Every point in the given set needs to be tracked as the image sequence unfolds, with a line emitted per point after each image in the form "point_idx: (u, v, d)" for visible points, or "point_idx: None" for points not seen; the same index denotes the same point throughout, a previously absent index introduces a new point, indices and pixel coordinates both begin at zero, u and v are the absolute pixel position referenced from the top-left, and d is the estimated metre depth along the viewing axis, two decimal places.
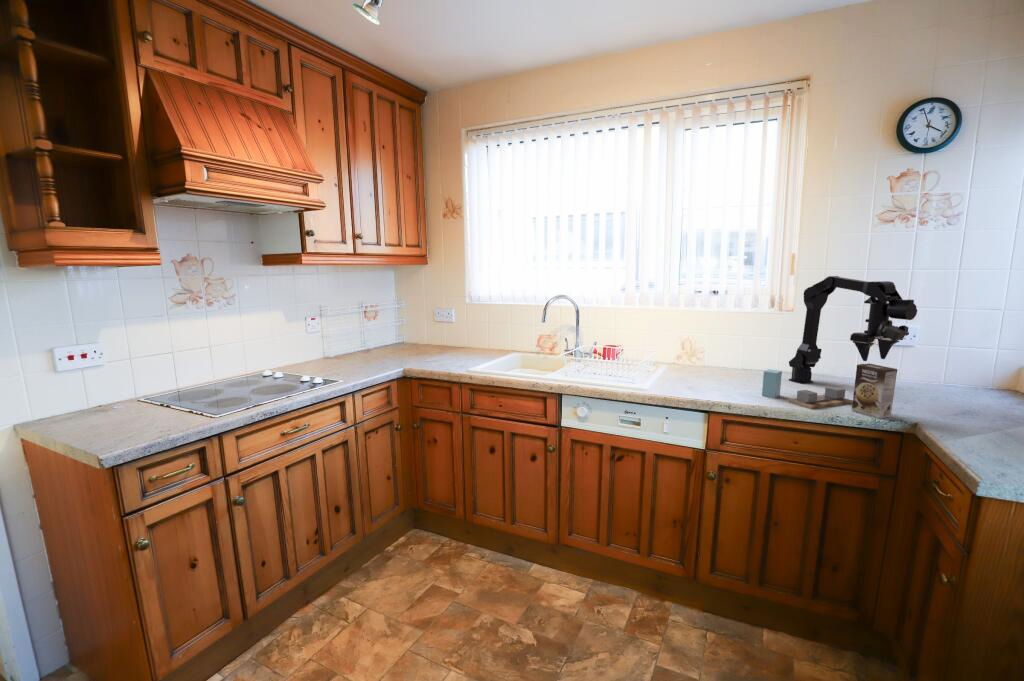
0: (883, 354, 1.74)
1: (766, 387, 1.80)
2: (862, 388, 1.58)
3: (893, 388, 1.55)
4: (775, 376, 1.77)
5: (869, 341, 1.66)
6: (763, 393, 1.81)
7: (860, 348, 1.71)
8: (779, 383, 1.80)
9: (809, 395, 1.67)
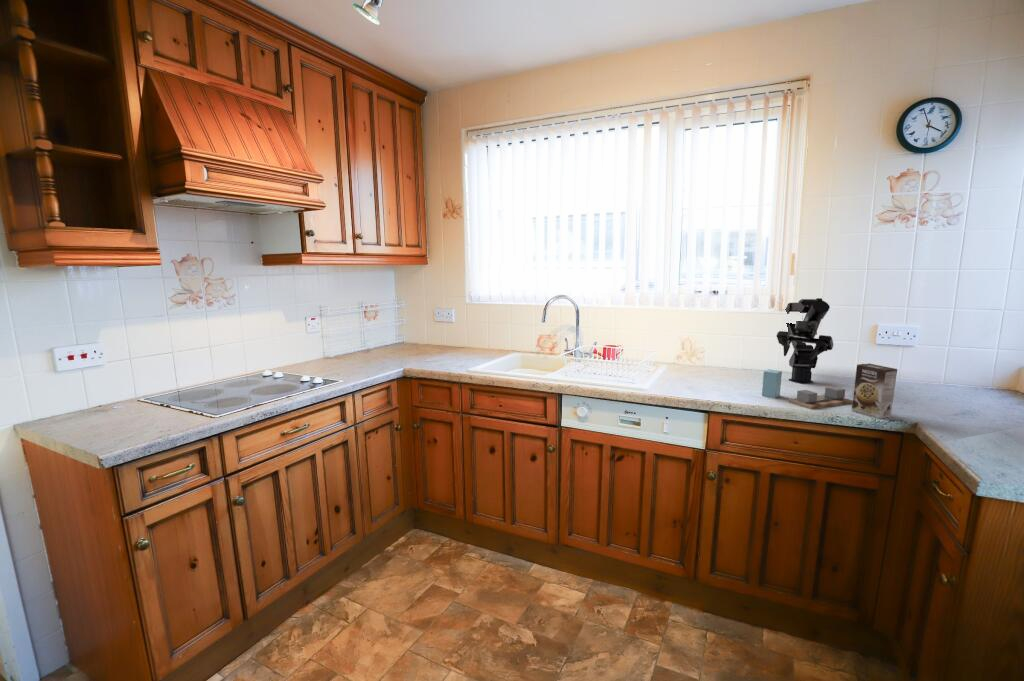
0: None
1: (766, 387, 1.80)
2: (862, 388, 1.58)
3: (893, 388, 1.55)
4: (775, 376, 1.77)
5: (780, 334, 1.91)
6: (763, 393, 1.81)
7: None
8: (779, 383, 1.80)
9: (809, 395, 1.67)
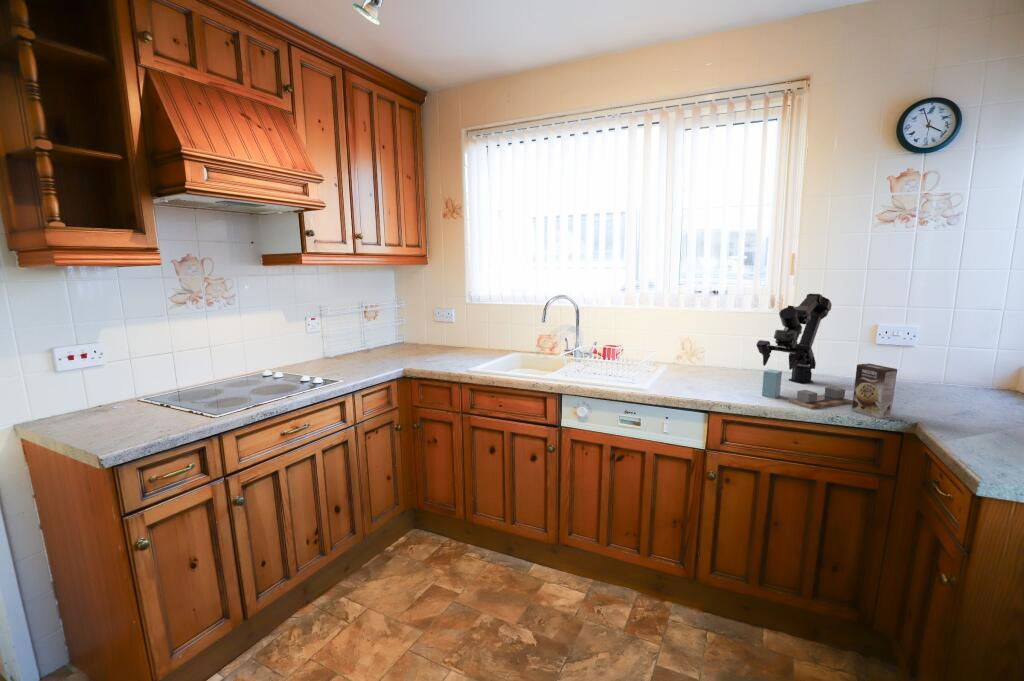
0: None
1: (766, 387, 1.80)
2: (862, 388, 1.58)
3: (893, 388, 1.55)
4: (775, 376, 1.77)
5: (760, 343, 1.89)
6: (763, 393, 1.81)
7: None
8: (779, 383, 1.80)
9: (809, 395, 1.67)
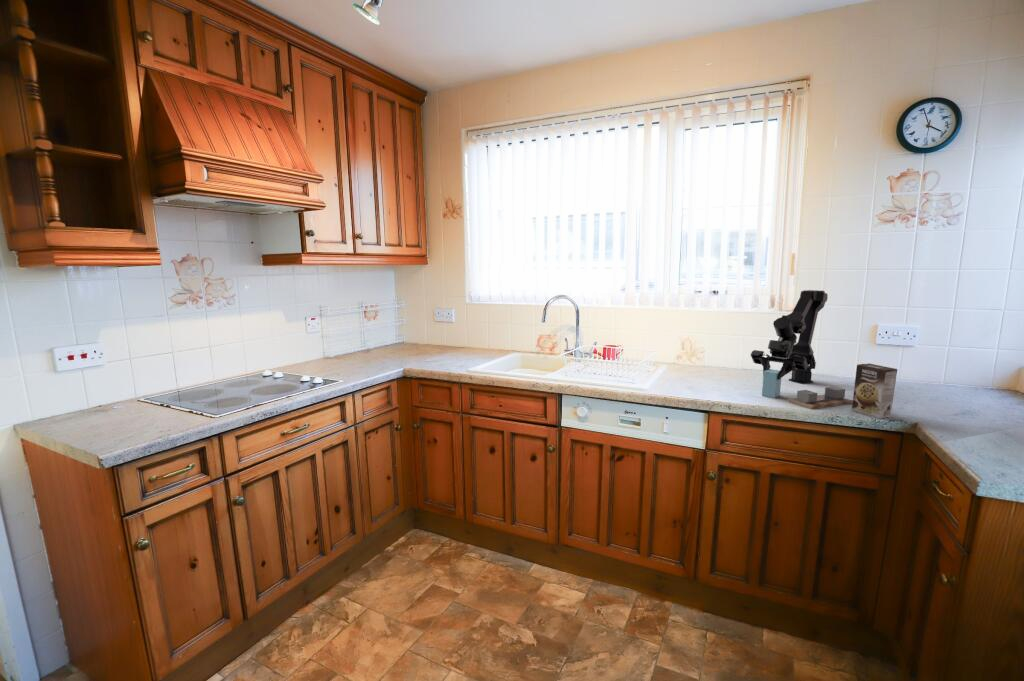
0: None
1: (766, 387, 1.80)
2: (862, 388, 1.58)
3: (893, 388, 1.55)
4: (775, 376, 1.77)
5: (754, 353, 1.86)
6: (763, 393, 1.81)
7: None
8: (779, 383, 1.80)
9: (809, 395, 1.67)
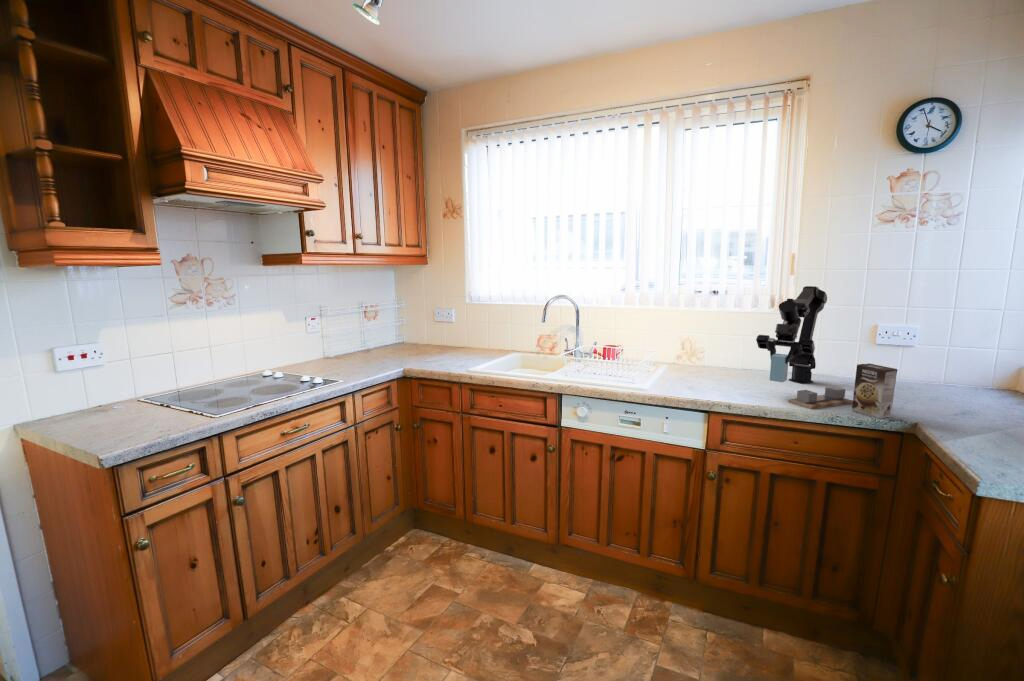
0: None
1: (774, 372, 1.77)
2: (862, 388, 1.58)
3: (893, 388, 1.55)
4: (783, 360, 1.74)
5: (760, 338, 1.83)
6: (771, 378, 1.78)
7: None
8: (786, 367, 1.77)
9: (809, 395, 1.67)
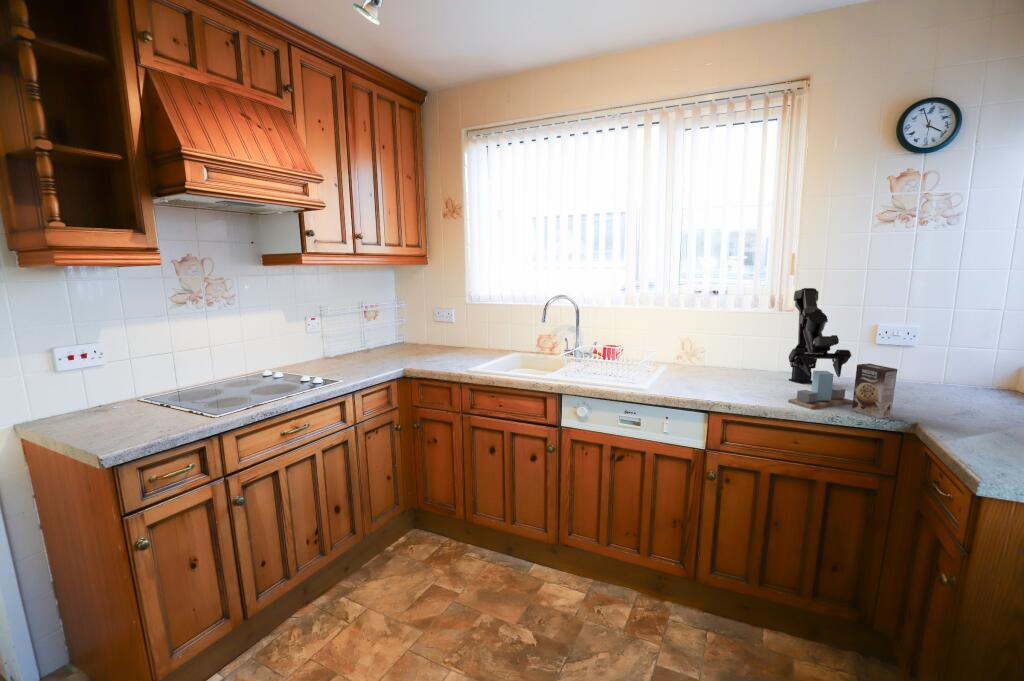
0: (837, 372, 1.69)
1: (822, 390, 1.69)
2: (862, 388, 1.58)
3: (893, 388, 1.55)
4: (832, 377, 1.68)
5: (798, 352, 1.73)
6: (818, 397, 1.70)
7: (802, 366, 1.74)
8: None
9: (809, 395, 1.67)
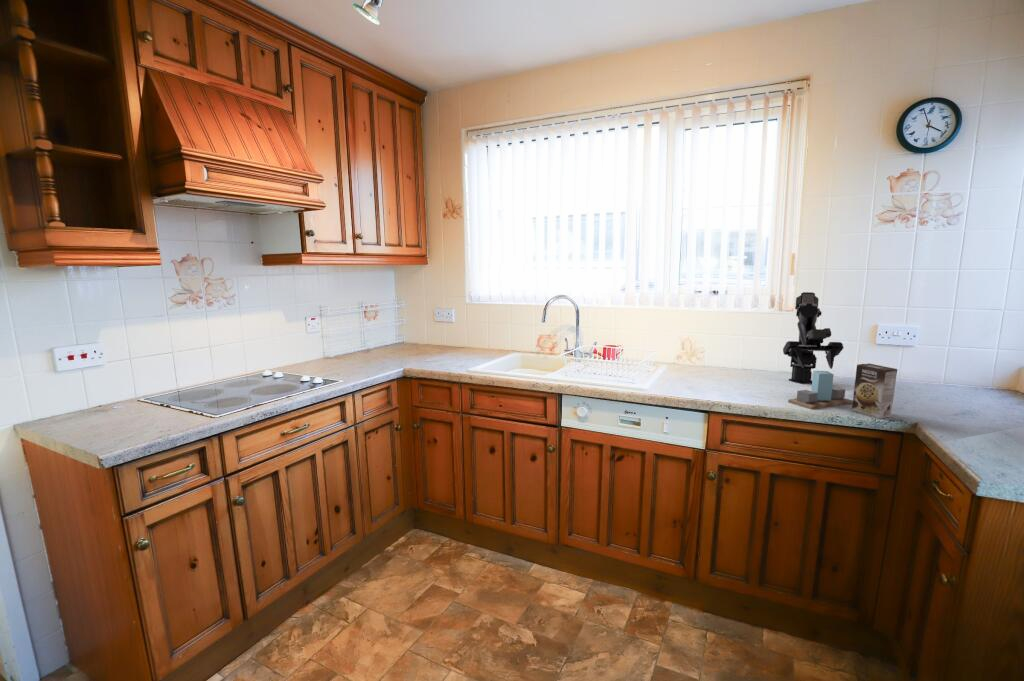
0: (830, 363, 1.75)
1: (822, 390, 1.69)
2: (862, 388, 1.58)
3: (893, 388, 1.55)
4: (832, 377, 1.68)
5: (792, 345, 1.79)
6: (818, 397, 1.70)
7: (796, 358, 1.80)
8: None
9: (809, 395, 1.67)
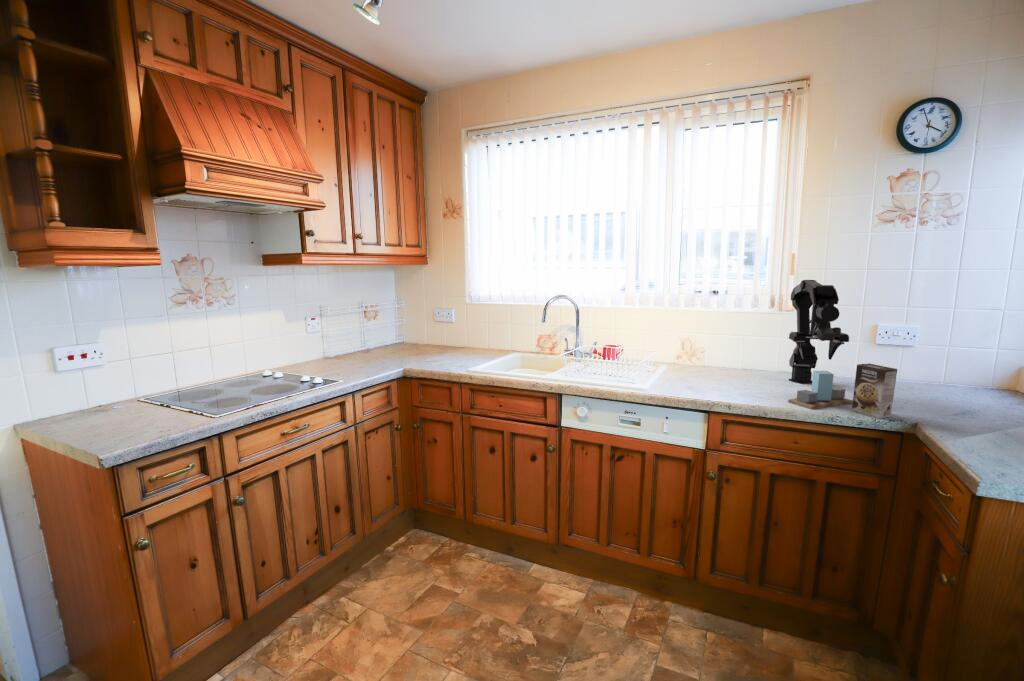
0: (829, 355, 1.82)
1: (822, 390, 1.69)
2: (862, 388, 1.58)
3: (893, 388, 1.55)
4: (832, 377, 1.68)
5: (798, 339, 1.81)
6: (818, 397, 1.70)
7: (799, 346, 1.85)
8: None
9: (809, 395, 1.67)
